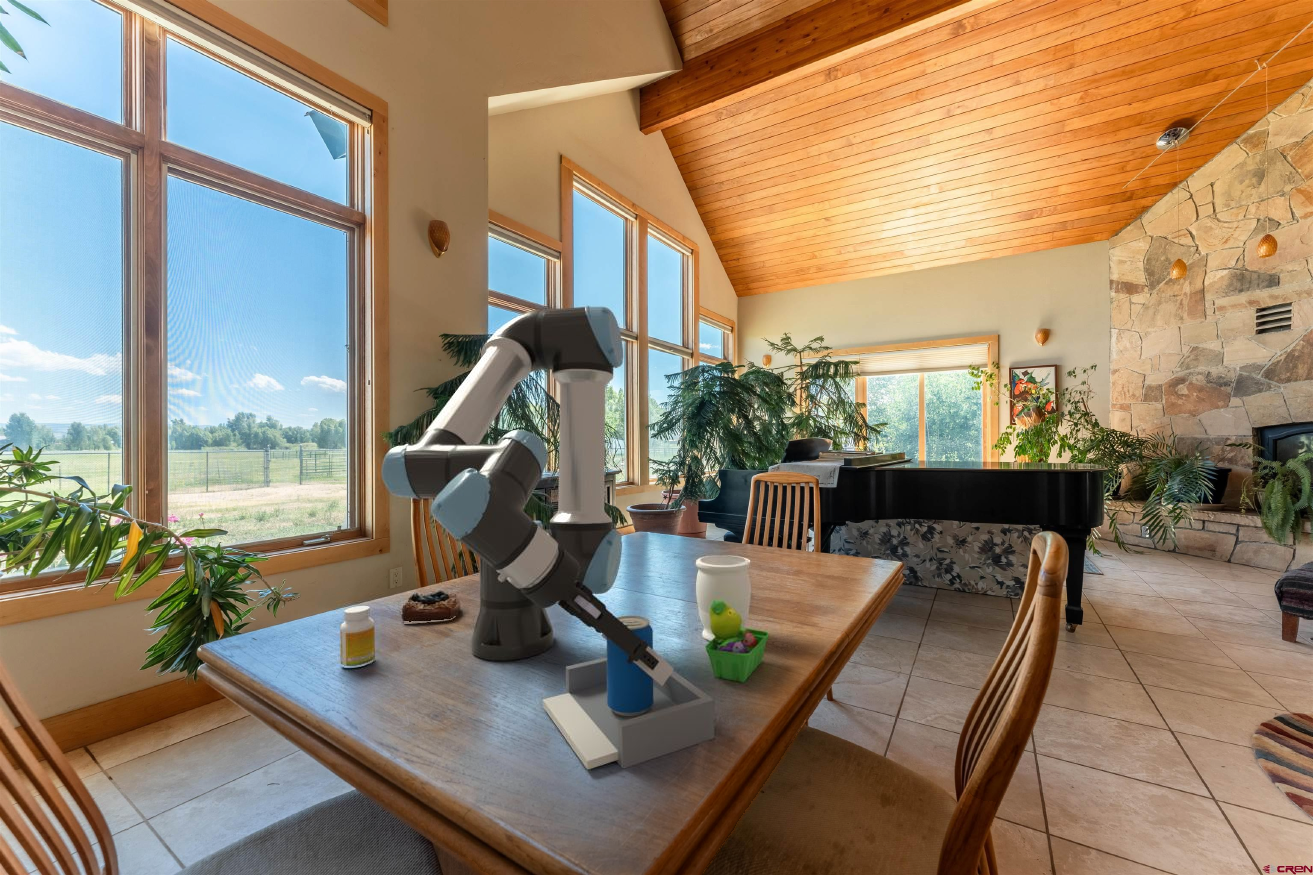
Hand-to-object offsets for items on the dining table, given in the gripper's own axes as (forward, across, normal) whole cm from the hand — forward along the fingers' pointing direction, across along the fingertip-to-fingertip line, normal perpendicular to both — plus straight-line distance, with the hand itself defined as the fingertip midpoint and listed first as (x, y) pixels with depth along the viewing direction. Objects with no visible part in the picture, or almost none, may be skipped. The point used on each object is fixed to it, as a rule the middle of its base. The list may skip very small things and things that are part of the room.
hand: (651, 664), depth 79 cm
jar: (+24, -19, +14) cm, 33 cm away
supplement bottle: (-21, -42, -31) cm, 56 cm away
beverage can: (+2, 0, -6) cm, 6 cm away
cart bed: (+2, 0, -8) cm, 8 cm away
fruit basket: (+19, -6, +8) cm, 21 cm away
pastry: (-10, -63, -21) cm, 67 cm away
